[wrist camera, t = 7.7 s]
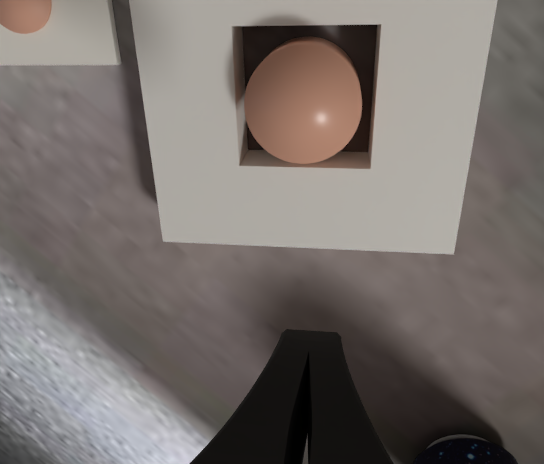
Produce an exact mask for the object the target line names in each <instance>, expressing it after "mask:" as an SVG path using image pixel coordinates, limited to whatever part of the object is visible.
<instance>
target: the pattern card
mask: <svg viewBox="0 0 544 464" xmlns="http://www.w3.org/2000/svg"><path fill="white" fill-rule="evenodd" d="M119 64H121V57H120V51H119V44H118V38H117V32H116V25H115V19H114V12H113V6H112V0H0V65H119Z"/></svg>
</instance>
